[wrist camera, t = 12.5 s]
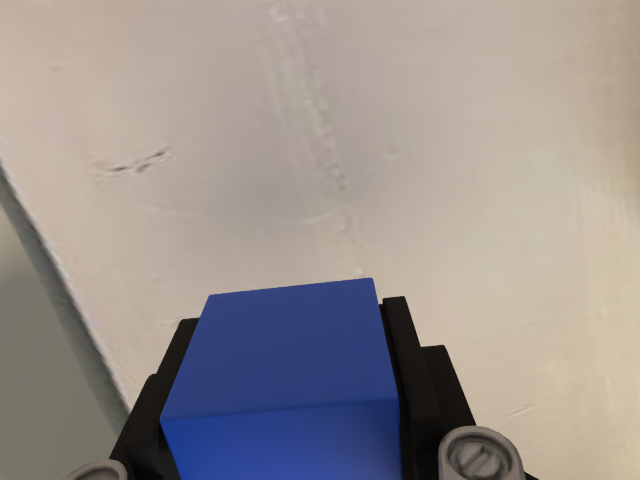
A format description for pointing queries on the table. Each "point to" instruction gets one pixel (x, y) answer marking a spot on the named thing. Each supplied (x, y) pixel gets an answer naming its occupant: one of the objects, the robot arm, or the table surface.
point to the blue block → (287, 388)
